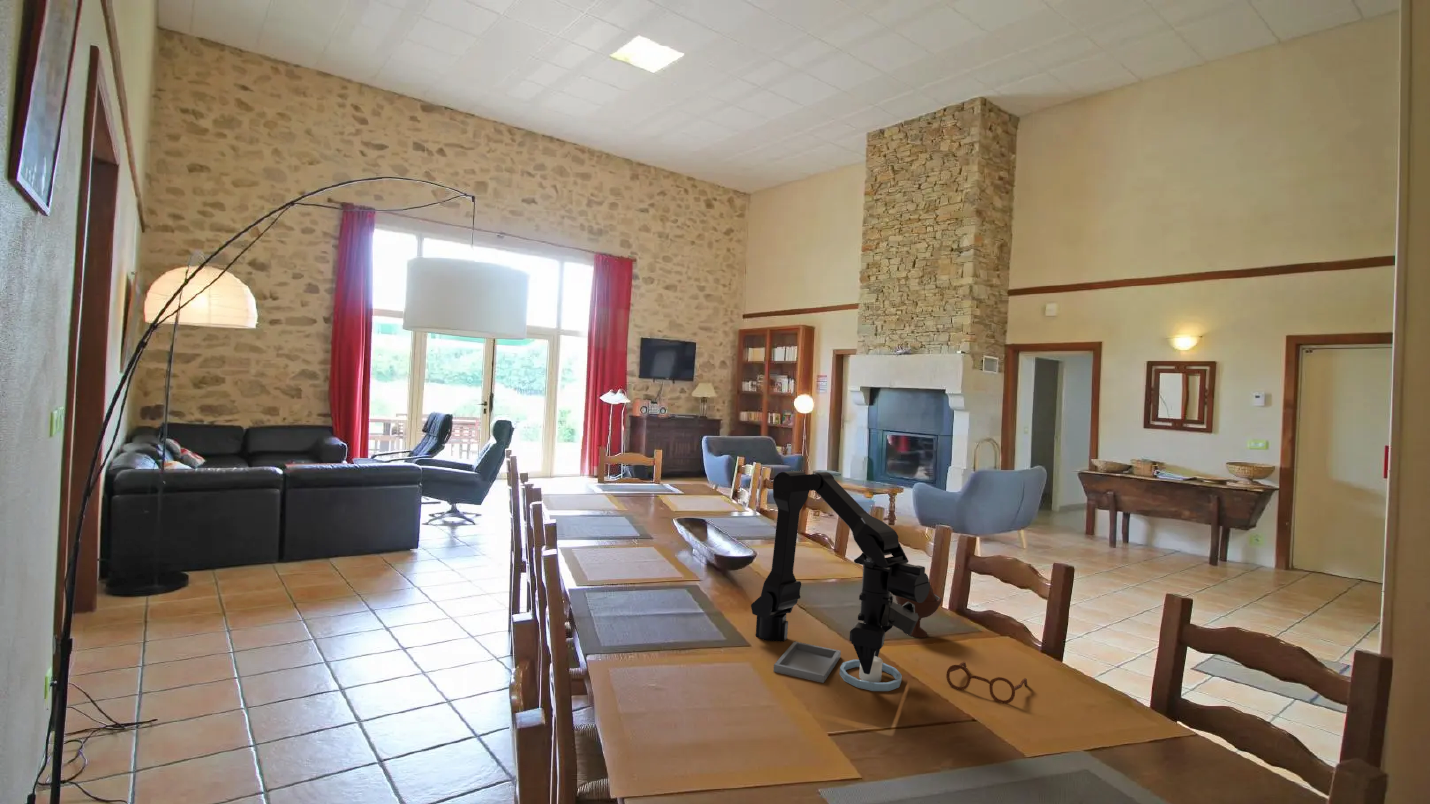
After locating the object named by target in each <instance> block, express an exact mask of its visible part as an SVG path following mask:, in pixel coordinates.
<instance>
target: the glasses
mask: <svg viewBox="0 0 1430 804" xmlns="http://www.w3.org/2000/svg"><path fill="white" fill-rule="evenodd" d="M966 667H967V664H966V662H965V661H962V662H960V663H959V664H953V665H951V666H949V667H948V668H947V671H946V676H945V677H946V682H947V683H948V685H949V686H950V687H951V688H953V689H956V690H960V691H963V690H966V689H967V688H968V687H969V685H970V682H971V681H972V680H971V679H975V680H978V681H982V682H985V683H987V684H989V685H988V687H989V689H988V690H989V694H990V696H991V698H992V700H994V701H996V702H998V701H999V702H998V703H1001V702H1002V703H1001V704H1004V703H1005V704H1009V703H1012V702H1013V700H1014V699H1015V696H1016V691H1017V690H1019V689H1021V688H1022V687H1023V685H1027V686H1028V679H1027V678H1025V677H1024V678H1022V679H1021V681H1020V683H1019V684H1016V685H1014V684H1013V682H1011V681H1010V680H1009V679H1008V678H1005V677H1000V676H997V677H994V678H992V679H990V680H989V679H987V678H986V677H982V676H979V675H971V673H970V671H969V670H968V669H967V668H966ZM958 670H963V671H964V673H965V674H966V676H967V679H966V683H965V685H964V686H958V685H955V684H954V683H953V682H952V680H951V677H950V675H951V672H954V671H955V672H956V671H958ZM997 681H1003V682H1005V683H1007V685H1009V687H1010V689H1011V694H1010V697H1009V698H1008V699H1005V700H1004V699H1000V698H998V697H997V696H996V695H995V693H994V690H993V688H994V684H995V683H996V682H997Z"/></svg>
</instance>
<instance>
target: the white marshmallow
mask: <svg viewBox="0 0 1430 804" xmlns="http://www.w3.org/2000/svg"><path fill="white" fill-rule="evenodd" d="M882 663H883V659H882V658H881V657H879V656H878V657H877V656H874V660H873V664H872V668H871V671H870V674H865V673H864V672H863V669H862V666H861V664H860V667H859V673H858V677H859V678H858V679H859V680H864V681H868V682H873V683H881V681H882V675H883V674H882V673H883V671H882Z"/></svg>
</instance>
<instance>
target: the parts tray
mask: <svg viewBox="0 0 1430 804" xmlns="http://www.w3.org/2000/svg"><path fill="white" fill-rule="evenodd" d="M841 651H842V650H839V649H835V648H829V647H825V646H824V647H823V646H821V645H814V644H811V643H805V642H801V641H800V642H799V641H793V642H792V643H791V645H790V646H789V647H788V648H787V649H786V650H785V652H784V653H783V654H782V655H781V656H780V657H779V658H778V660H776V662H775V663H773V673H777V674H781V675H786V676H790V677H794V678H799V679H805V680H807V681H812V682H817V683H821V684H824V683H825V682H826V681H827V679H828V677H829V676H830V675H831V672H832V671H833V670H834V668H835V667H836V665H837V663H838V662H839V660H840V658H841V655H842V654H841V653H842V652H841Z"/></svg>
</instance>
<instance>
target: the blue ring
mask: <svg viewBox="0 0 1430 804" xmlns="http://www.w3.org/2000/svg"><path fill="white" fill-rule="evenodd" d="M854 668H860V661H859V659H856V658H855V659H851V660H847V661H844V662H842V663H841V665H840V667H839V676H840V677H841V678H842V680H843V682H846V683H847V684H850V685H851V686H853V687H856V688H858V689H862V690H863V689H864V690H867V691H871V692H889V691H893V690H895V689H898V688H900V686H901V683H902V678H903V676H902V673H901V672H900V671H899V670H898V669H897V668H896V667H893V666H892V665H890V664H887V663H885V662H882V672H885V673H887V674H889V675H891V676H892V677H893V678H894V679H893V680H891V681H888V682H877V683H873V682H868V681H864V680H862V679H860V678H857V677H855V676H852V675H851V674H849V673H848V672H847V670H850V669H854Z"/></svg>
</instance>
